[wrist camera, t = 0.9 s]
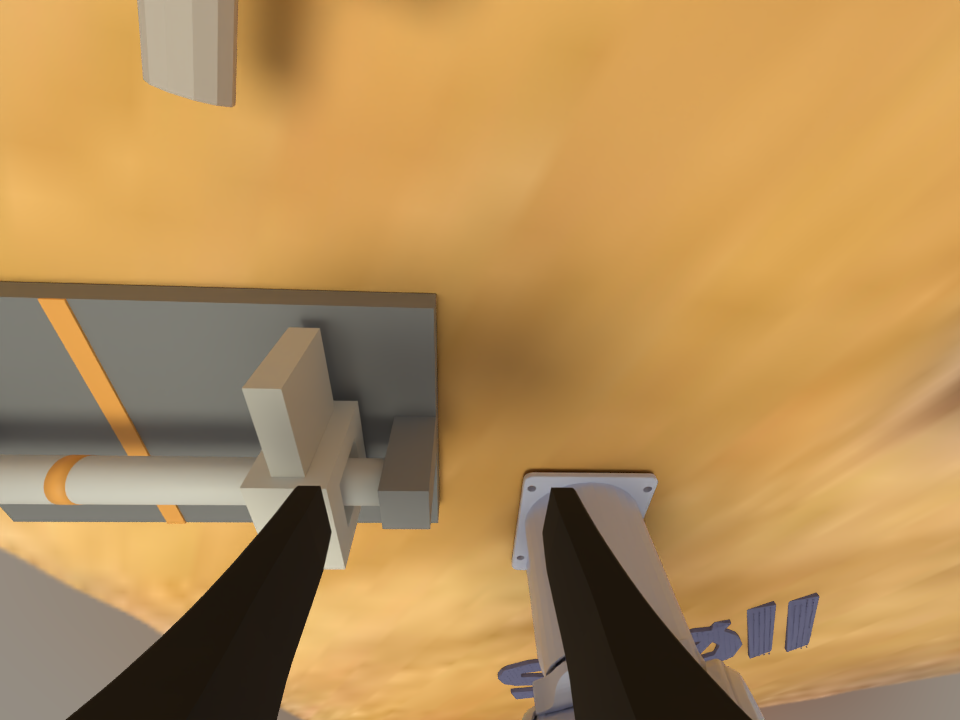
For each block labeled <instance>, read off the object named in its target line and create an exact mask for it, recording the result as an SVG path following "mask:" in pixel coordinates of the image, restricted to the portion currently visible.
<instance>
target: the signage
mask: <svg viewBox="0 0 960 720" xmlns="http://www.w3.org/2000/svg"><path fill="white" fill-rule="evenodd" d="M818 600H819V595H818V594H817V593H814V594H811V595H808V596H805V597H802V598H799V599H796V600H793V601H790V602H789V605H788V617H787V628H786V640H785V650H786V651H787V652H788V651H791V650H794V649H797V648H799V647H801V649H802V646H805V645H808V643H809V640H810V636H811V631H812V627H813V622H814V618H815V613H816V609H817V604H818ZM775 610H776V604H775V602H774V601H772V602H769V603H766V604H763V605H760V606H757V607H754V608H751V609H748V610H747V625H748V656H749V658H753V657H756V656H760V655H761V654H764V653H767V652H770V651H771V649H772V640H773V630H774V620H775ZM730 624H731V622H730V620H724V621H719V622H714V623H713V624H712V625H711V626H710V627H703V628H693V629H689V630H690V633H691V635H692V638H693V640H694V642H695V645H696V647H697V650H698V652H699V653H700V654H701V653H702V652H703V651H704V650H705V649H706V648H707V647H708V646H709V645H710V644H711V643H712V642H714V643H716V644H717V645H716V647H715V649H714V651H712V652H709V653H706V654H703V655H701V656H702V657H703V659H704V660H705V662H706V661H709V660H713V659H719V660H721V661H723V660H727V659H728V658H731V657H733V656H734V655H735V653H736V652H737V651H738V649H739V648H740V647H741V645H742V642H741V640H740V638H739V636H738V635H737V634H736V632H734V631H732V630H729V629H726V628H727V627H728V626H729V625H730ZM806 648H807V646H806ZM768 654H770V653H768ZM764 655H765V654H764ZM536 671H542V670H541V668H540V665H539V660H538V659H533V660H526V661H522V662H519V663H515V664H511V665H507V666H505V667H504V668H502V669H501V670H500V671H499V672H498V679H499V680H500V681H501V682H502V683H504V684H508V685H514V686H520V685H533V684H532V683H533V681H535V680H538V679H541V678H543V677H544V675H543V673H529V672H536ZM511 693H512V695H513V696H514V697H515V698H516V699H523V698H532V697H534V693H533V687H525V688H514V689H511Z"/></svg>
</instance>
